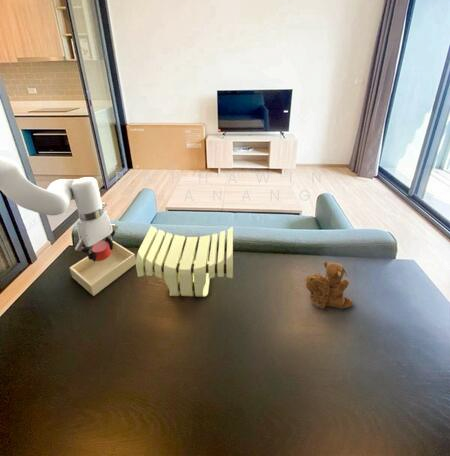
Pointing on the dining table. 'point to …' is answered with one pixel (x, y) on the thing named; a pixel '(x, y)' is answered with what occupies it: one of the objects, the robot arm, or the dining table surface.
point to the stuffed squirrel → (329, 287)
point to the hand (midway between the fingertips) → (101, 253)
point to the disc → (101, 250)
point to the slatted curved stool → (185, 261)
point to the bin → (103, 269)
